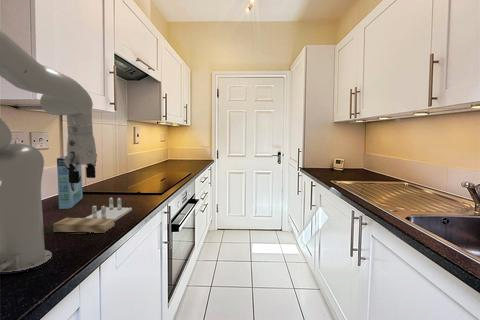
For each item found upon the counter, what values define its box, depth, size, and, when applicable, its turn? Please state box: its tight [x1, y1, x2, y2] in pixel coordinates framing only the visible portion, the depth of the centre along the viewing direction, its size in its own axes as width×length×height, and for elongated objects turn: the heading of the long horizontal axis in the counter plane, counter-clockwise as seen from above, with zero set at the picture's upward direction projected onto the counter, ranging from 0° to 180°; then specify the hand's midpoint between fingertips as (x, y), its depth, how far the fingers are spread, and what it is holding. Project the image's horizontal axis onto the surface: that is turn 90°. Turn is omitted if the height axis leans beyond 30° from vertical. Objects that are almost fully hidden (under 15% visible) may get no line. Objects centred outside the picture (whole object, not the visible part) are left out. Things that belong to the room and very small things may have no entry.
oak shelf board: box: [52, 217, 116, 234], centre depth 100 cm, size 18×7×4 cm, turn 87°
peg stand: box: [85, 197, 133, 222], centre depth 116 cm, size 19×12×6 cm, turn 178°
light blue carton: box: [56, 155, 84, 210], centre depth 134 cm, size 20×5×23 cm, turn 14°
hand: (83, 180), depth 99 cm, fingers open, 9 cm apart
